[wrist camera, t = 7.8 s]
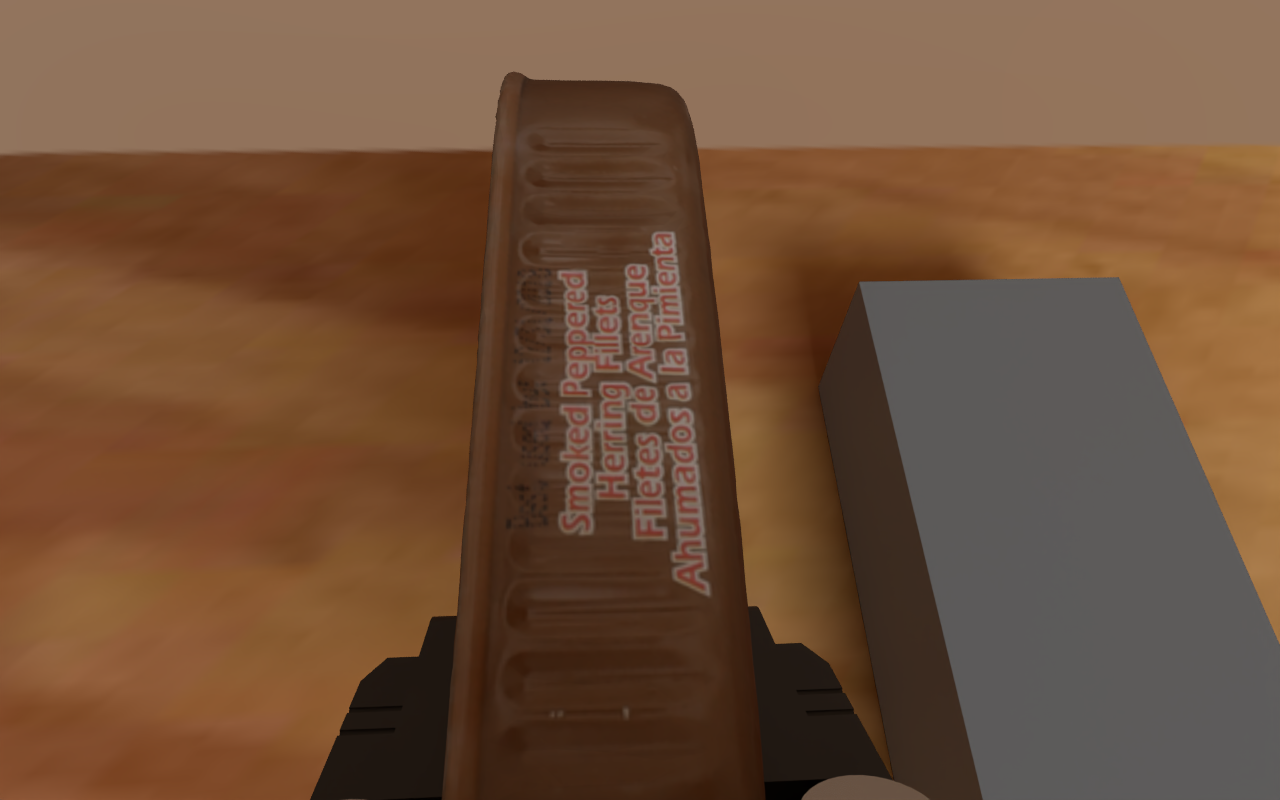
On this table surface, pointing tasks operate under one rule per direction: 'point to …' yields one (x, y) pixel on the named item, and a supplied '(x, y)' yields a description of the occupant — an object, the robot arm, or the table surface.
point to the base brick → (1042, 552)
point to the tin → (600, 472)
